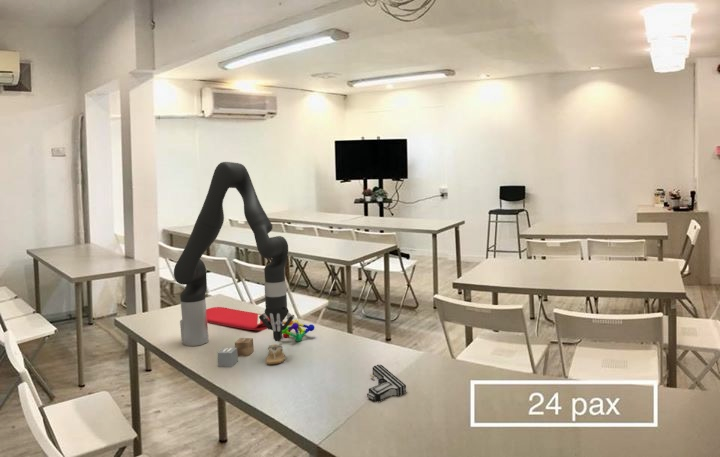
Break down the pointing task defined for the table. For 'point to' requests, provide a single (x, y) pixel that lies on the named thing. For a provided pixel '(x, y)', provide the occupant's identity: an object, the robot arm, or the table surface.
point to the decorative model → (297, 330)
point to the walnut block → (244, 346)
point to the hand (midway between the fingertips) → (278, 340)
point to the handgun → (385, 384)
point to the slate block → (227, 357)
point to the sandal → (275, 354)
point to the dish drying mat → (235, 318)
